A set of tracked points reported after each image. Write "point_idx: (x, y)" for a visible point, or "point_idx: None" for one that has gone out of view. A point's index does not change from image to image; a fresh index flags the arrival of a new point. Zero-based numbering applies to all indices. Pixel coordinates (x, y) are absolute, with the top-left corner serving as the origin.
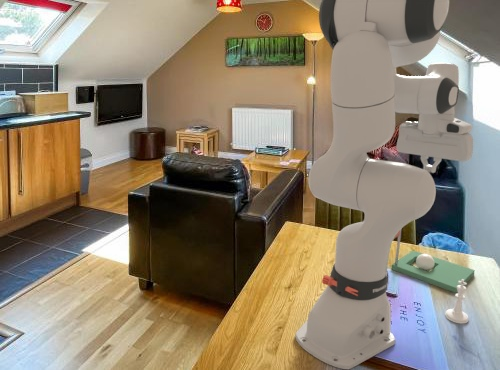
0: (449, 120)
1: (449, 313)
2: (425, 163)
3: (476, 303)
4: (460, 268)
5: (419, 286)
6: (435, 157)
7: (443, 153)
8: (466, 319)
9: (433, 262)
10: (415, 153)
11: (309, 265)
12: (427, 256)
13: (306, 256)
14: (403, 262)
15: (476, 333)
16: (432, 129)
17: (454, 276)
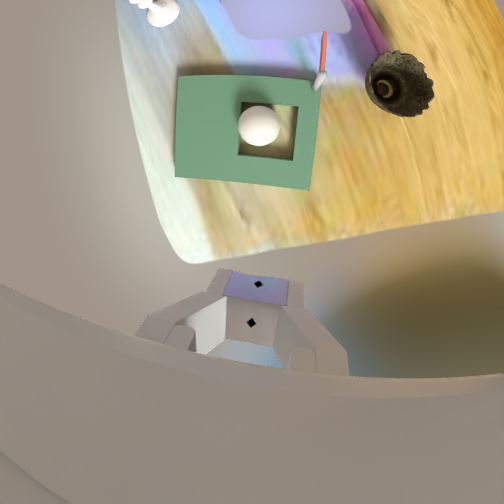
0: None
1: (170, 2)
2: (289, 323)
3: (149, 72)
4: (196, 164)
5: (244, 51)
6: (151, 341)
7: (36, 347)
8: (148, 10)
9: (238, 124)
10: (421, 385)
11: (450, 21)
12: (251, 121)
13: (474, 55)
14: (304, 108)
15: None
16: None
17: (194, 119)
